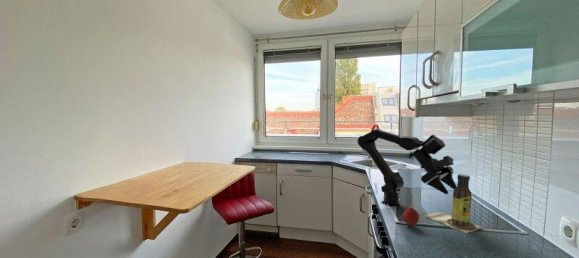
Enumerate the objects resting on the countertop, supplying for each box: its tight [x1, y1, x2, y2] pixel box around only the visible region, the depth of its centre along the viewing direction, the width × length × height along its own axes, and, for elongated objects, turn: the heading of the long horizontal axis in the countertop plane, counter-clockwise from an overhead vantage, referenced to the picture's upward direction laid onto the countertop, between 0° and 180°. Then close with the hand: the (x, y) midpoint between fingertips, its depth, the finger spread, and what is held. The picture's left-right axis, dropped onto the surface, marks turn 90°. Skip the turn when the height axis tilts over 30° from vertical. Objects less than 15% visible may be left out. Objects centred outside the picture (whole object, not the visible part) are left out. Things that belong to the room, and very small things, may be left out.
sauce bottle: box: [450, 173, 473, 226], centre depth 102 cm, size 6×6×20 cm
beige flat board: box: [424, 211, 483, 234], centre depth 106 cm, size 17×10×1 cm, turn 24°
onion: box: [402, 206, 420, 227], centre depth 102 cm, size 6×6×8 cm
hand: (452, 191), depth 105 cm, fingers open, 9 cm apart
